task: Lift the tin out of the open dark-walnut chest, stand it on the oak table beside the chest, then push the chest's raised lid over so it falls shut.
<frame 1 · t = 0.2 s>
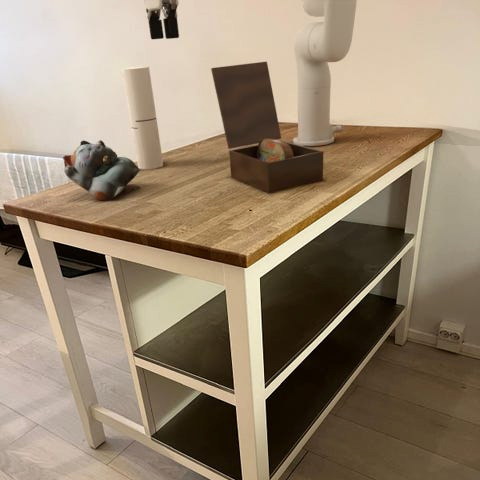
hand: (164, 38, 116), 31 cm above the table, tool pointing down, fingers open, 9 cm apart
tin: (275, 177, 118), resting on chest
chest: (275, 178, 118), on the table
cylindrical container: (150, 166, 138), on the table
lucky cat figurine: (107, 194, 118), on the table
lid: (247, 105, 119), point 16 cm above the table, hinge at 108.0°
pepper mill: (262, 130, 173), on the table
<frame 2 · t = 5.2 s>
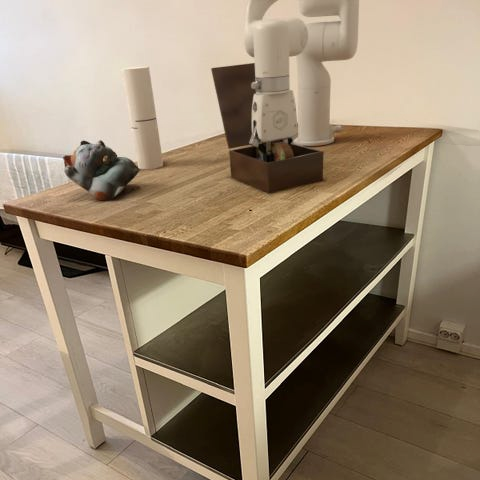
hand: (275, 168, 117), 2 cm above the table, tool pointing down, fingers closed on tin, 2 cm apart
tin: (276, 176, 118), resting on chest, touching gripper
everything else where it was.
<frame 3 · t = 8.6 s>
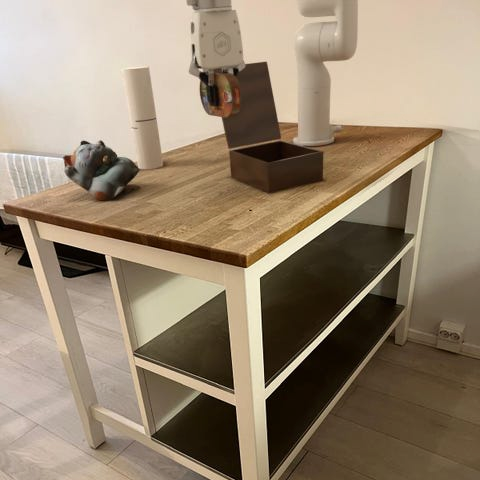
hand: (220, 103, 104), 18 cm above the table, tool pointing down, fingers closed on tin, 2 cm apart
tin: (223, 116, 106), point 16 cm above the table, touching gripper
everything else where it was.
when the fingers open (2 cm above the table, at t = 12.2 s): tin stays where it is, on the table.
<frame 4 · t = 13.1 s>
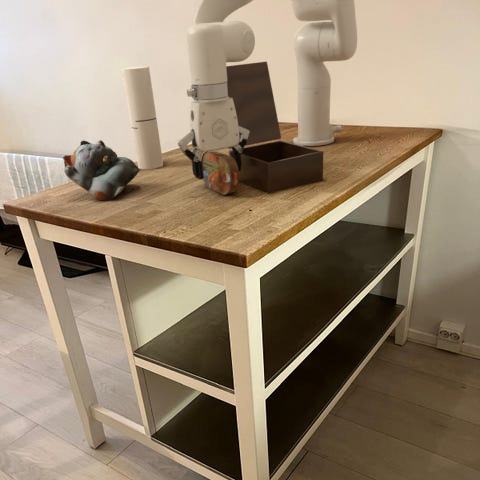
hand: (218, 174, 111), 4 cm above the table, tool pointing down, fingers open, 9 cm apart
tin: (221, 191, 113), on the table
everything else where it was.
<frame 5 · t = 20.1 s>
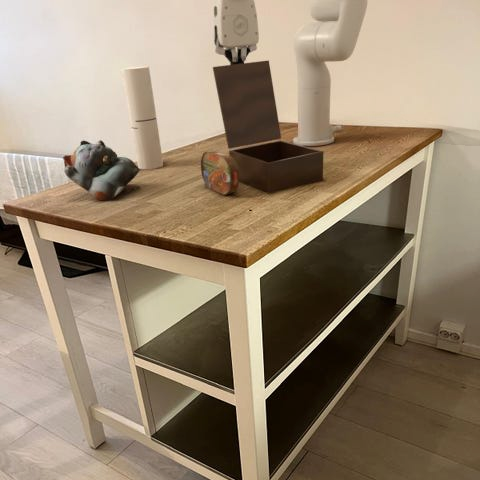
hand: (238, 79, 119), 21 cm above the table, tool pointing down, fingers closed
lid: (248, 104, 118), point 16 cm above the table, hinge at 105.1°, touching gripper
everything else where it was.
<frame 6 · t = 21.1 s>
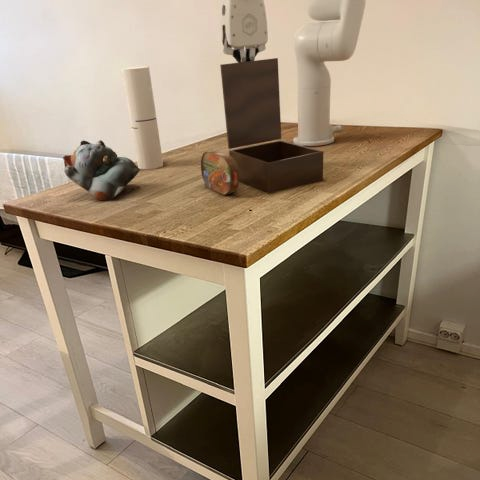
hand: (246, 80, 116), 21 cm above the table, tool pointing down, fingers closed
lid: (252, 104, 117), point 16 cm above the table, hinge at 92.3°, touching gripper
everything else where it was.
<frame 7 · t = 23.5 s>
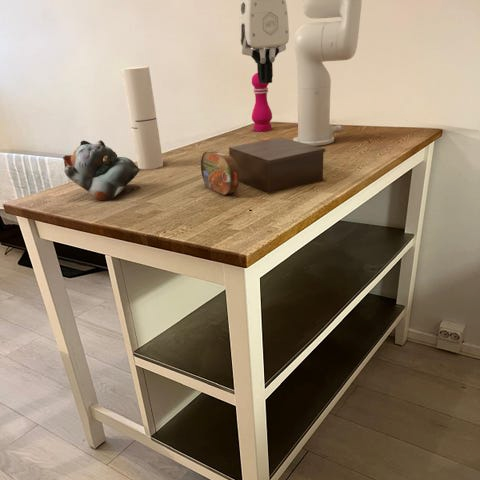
hand: (265, 82, 110), 21 cm above the table, tool pointing down, fingers closed
lid: (275, 149, 114), point 7 cm above the table, hinge at -0.1°
everything else where it was.
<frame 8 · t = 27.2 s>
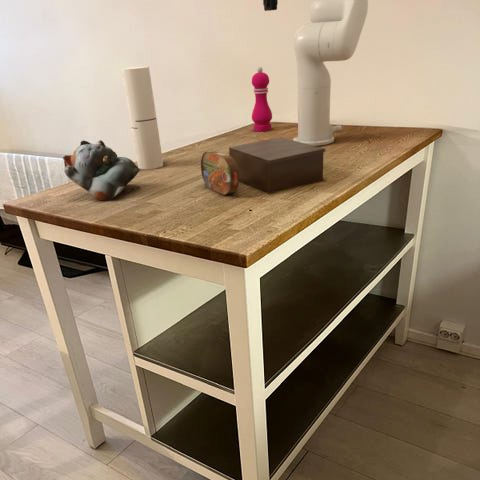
hand: (270, 10, 114), 35 cm above the table, tool pointing down, fingers closed
nothing on the table moved.
at the end: tin inside the target area (0.4 cm from its centre), on the table; tin tilted 0°; lid at +0° (first picture: +108°) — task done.
